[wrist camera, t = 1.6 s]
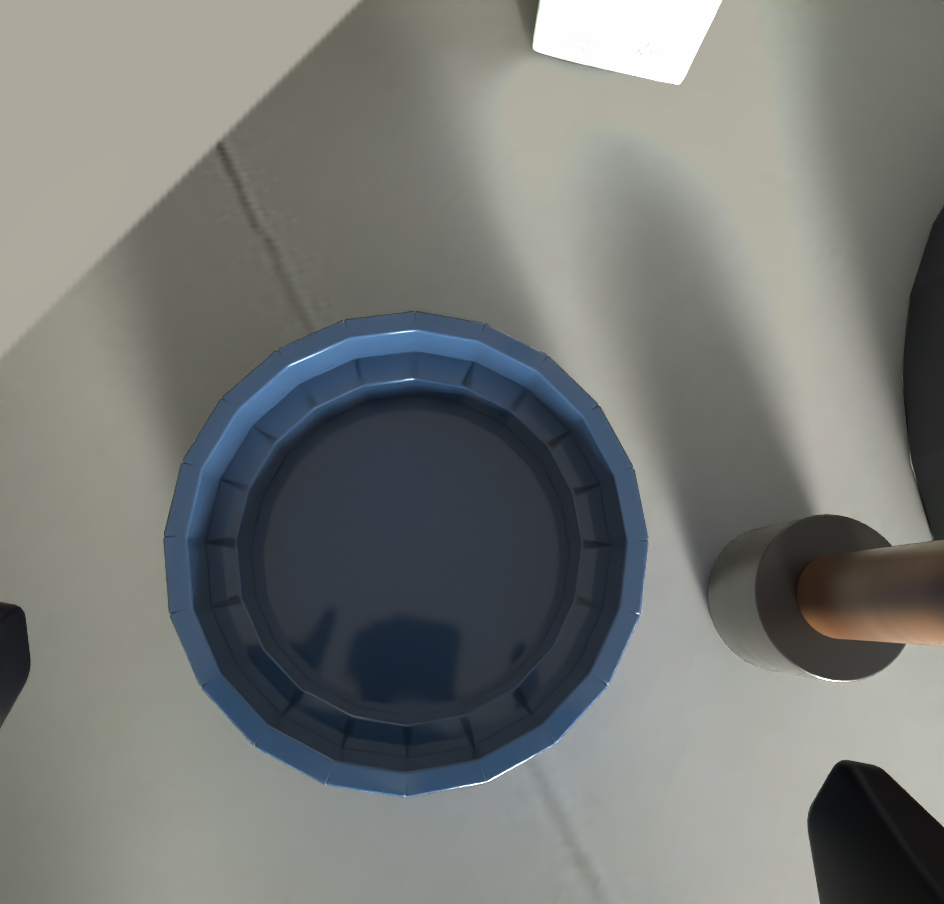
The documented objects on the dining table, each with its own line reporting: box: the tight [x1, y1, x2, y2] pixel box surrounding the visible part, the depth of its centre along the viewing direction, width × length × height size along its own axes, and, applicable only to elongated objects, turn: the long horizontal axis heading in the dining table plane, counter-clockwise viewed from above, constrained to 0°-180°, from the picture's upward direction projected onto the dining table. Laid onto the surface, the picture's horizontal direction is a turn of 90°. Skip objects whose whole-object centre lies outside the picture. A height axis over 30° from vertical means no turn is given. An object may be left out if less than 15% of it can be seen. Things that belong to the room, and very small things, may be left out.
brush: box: [708, 514, 944, 682], centre depth 16 cm, size 4×4×15 cm
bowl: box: [163, 311, 648, 797], centre depth 21 cm, size 12×12×4 cm
